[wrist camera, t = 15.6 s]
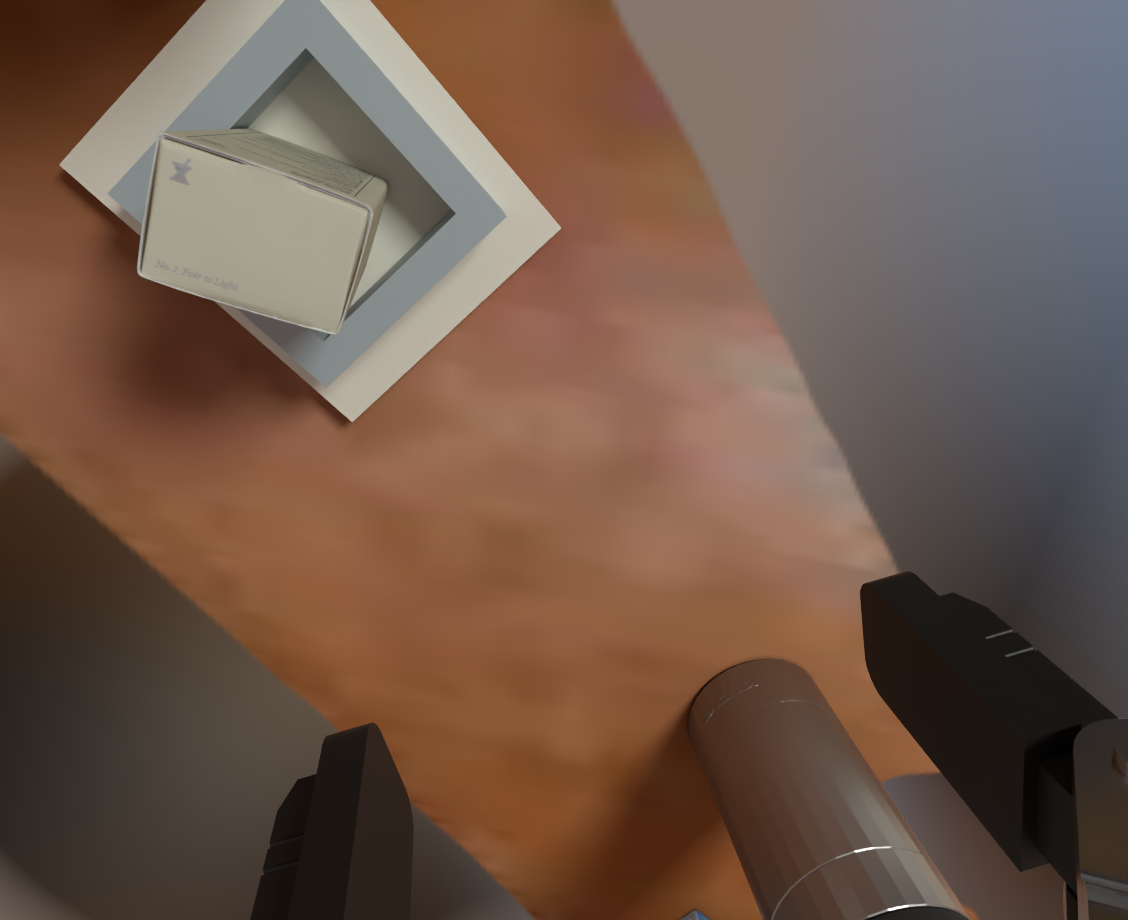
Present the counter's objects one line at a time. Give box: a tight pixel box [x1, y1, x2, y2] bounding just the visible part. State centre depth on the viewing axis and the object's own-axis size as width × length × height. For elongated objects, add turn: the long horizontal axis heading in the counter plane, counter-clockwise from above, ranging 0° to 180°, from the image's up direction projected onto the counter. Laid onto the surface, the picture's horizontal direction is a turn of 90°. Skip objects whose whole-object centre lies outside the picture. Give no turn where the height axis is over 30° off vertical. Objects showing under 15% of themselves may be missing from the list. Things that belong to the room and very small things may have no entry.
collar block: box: [59, 0, 561, 422], centre depth 32 cm, size 16×14×4 cm
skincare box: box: [137, 128, 388, 335], centre depth 28 cm, size 6×4×12 cm
